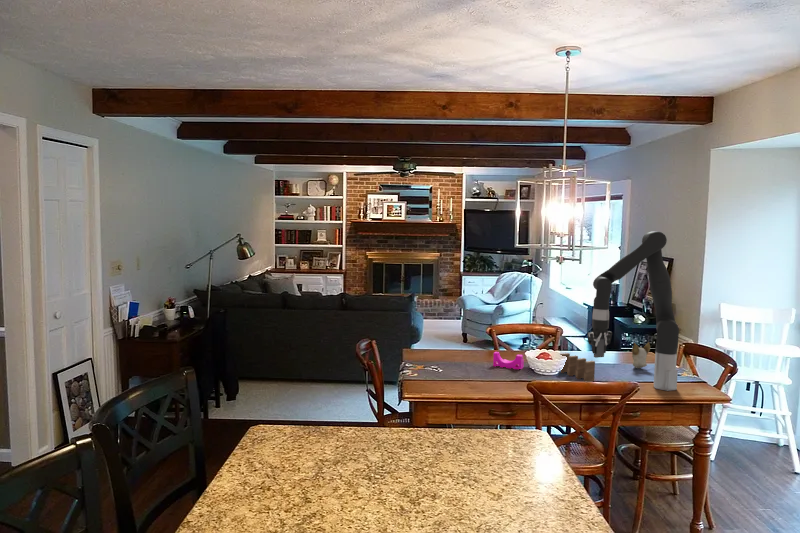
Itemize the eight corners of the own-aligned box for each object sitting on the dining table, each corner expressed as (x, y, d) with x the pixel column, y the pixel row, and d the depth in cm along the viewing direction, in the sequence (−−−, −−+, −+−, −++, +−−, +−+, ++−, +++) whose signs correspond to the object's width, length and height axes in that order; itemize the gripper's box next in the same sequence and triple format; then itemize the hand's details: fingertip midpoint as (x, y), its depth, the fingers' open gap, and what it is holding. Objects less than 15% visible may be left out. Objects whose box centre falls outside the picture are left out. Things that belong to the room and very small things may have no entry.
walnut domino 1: (569, 372, 296) (569, 353, 296) (561, 373, 294) (562, 354, 293) (567, 371, 298) (567, 352, 297) (559, 372, 296) (560, 353, 295)
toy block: (523, 367, 305) (524, 354, 305) (520, 370, 300) (521, 356, 299) (496, 364, 312) (496, 350, 311) (493, 366, 306) (493, 353, 305)
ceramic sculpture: (641, 366, 313) (642, 339, 311) (652, 370, 304) (653, 342, 303) (624, 367, 310) (626, 340, 309) (634, 371, 302) (636, 343, 300)
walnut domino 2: (577, 375, 291) (577, 356, 290) (569, 376, 289) (570, 356, 288) (574, 374, 292) (575, 355, 292) (567, 375, 290) (568, 356, 289)
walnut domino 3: (585, 378, 285) (586, 358, 285) (577, 379, 283) (578, 359, 283) (583, 377, 287) (584, 358, 286) (575, 378, 285) (576, 358, 284)
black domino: (604, 356, 274) (604, 336, 274) (596, 357, 272) (596, 337, 272) (601, 356, 276) (602, 335, 275) (593, 356, 274) (594, 336, 273)
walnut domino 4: (594, 381, 280) (595, 361, 279) (586, 382, 278) (587, 362, 277) (591, 380, 281) (592, 360, 281) (584, 381, 279) (584, 361, 279)
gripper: (594, 320, 266) (593, 356, 267) (617, 318, 272) (616, 353, 273) (583, 317, 273) (582, 352, 274) (606, 316, 279) (604, 350, 280)
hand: (599, 353), depth 274 cm, fingers closed on black domino, 5 cm apart
